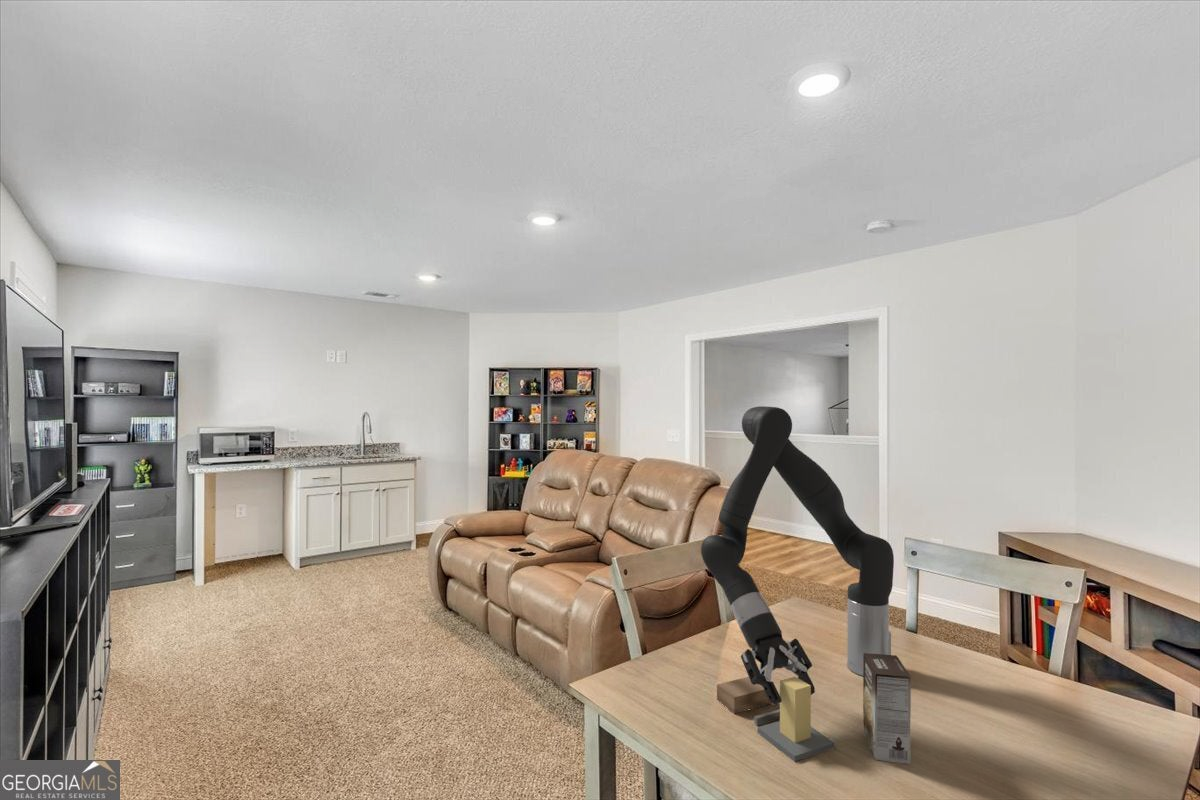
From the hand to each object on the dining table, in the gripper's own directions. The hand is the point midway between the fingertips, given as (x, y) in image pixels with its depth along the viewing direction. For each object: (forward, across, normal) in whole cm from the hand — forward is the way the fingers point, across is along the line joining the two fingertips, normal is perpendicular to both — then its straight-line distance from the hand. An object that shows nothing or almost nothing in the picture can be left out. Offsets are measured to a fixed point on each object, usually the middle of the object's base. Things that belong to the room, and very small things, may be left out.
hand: (795, 698), depth 110 cm
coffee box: (+12, +14, -1) cm, 19 cm away
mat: (+6, 0, +5) cm, 8 cm away
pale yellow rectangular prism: (+5, 0, +5) cm, 7 cm away
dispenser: (-3, 0, +14) cm, 15 cm away
